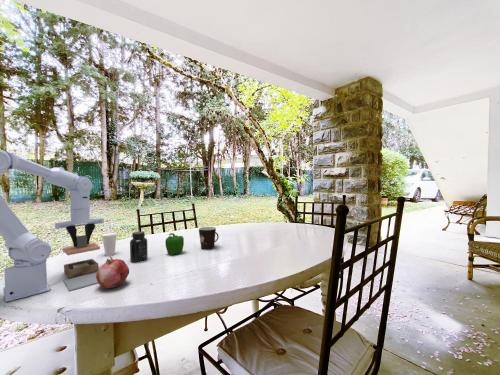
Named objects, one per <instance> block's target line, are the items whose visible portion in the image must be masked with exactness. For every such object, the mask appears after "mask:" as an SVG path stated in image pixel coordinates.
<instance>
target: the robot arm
mask: <svg viewBox="0 0 500 375" xmlns="http://www.w3.org/2000/svg"><path fill="white" fill-rule="evenodd" d="M7 170H15V171H20V172H23V173H27V174H29V175H34V176H38V177H40V178H44V179H45V181H46V183H48V184H51V185H54V186H57V187H60V188H64V189H66V190H67V191H68V192H69V202H70V204H69V205H70V206H69V207H70V220H67V221H62V222H61V221H59V222H55V223H54V230H57V229H58V230H60V229H65V230H66V231H67V232H68V234H69V236H70V238H71V240H72V244H73V245H72V246H74V247H77V238H76V237H77V236H78V235H77V231H78V230H77V227H81V226H82V227H83V226H84V233H85V234H84V235H86V236H87V245H89V243H90V240H91V237H92V234H93V232H94V230H95V228H96V224H97V225H98V224H105V221H104V220H105V219H104V218H103V217H99V218H91V213H90V212H91V211H90V208H91V207H90V204H91V203H90V195H91V190H92V189H93V187H94V184H93V183H92V181H91V179H90V178H89V177H87V176H79V174H78V173H76V172H70V171H67V170H65V168H64V167H61V166H58V167H56V166H55V167H51V168H49V167H46V166H44V165H42V164H39V163H37V162H34V161H31V160H30V159H28V158H24V157H22V156H20V155H18V154H15V153H14V152H9V151H5V150H3V149H0V176H2V174H3V173H5V172H6V171H7ZM0 236H1V237H2V238H3V239H4V241H5V243H4V247H5V248H6V249H7V252H8V256H9V258H10V259H11V260H13V265H12V266H8V267H5V268H4V270H3V272H4V273H3V274H4V287H3V288H2V290H3V291H2V292H3V295H4V299H5V301H4V302H5V303H6V302H7V303H8V302H11V301H16V300H20V299H23V298H27V297H29V296H34V295H38V294H42V293H45V292H49V291H50V290H51V289H50V288H51V287H50V285H49V283H48V278H47V274H48V273H47V261H48V258H49V257H50V256H51V253H52V247H51V245H50V244H49V243H48V242H45V241H43V240H41V239H40V238H39V236H37V235H35V234H34V233H32V232H30V231H29V229H28V228H27V227H26V226H25V225H24V224H23V222H22V221H21V219H20V218H19V217H18V216H17V215H16V214H15V213H14V212H13V210H12V209H11V207H10V206H9V204H7V203H6V201H5V200H4V199H3V198H2V197H1V196H0Z"/></svg>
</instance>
